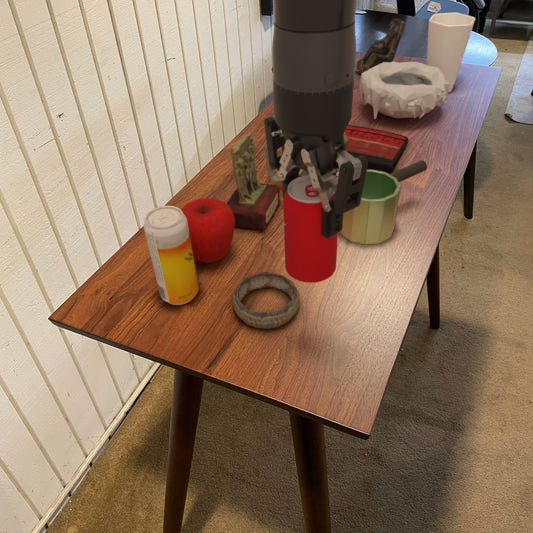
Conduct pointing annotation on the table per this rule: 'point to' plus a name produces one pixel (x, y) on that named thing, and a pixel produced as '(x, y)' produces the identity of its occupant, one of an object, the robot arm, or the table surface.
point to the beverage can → (307, 234)
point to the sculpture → (250, 189)
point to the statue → (383, 47)
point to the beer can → (171, 254)
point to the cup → (448, 43)
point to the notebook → (375, 147)
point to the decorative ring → (265, 318)
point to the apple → (209, 228)
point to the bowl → (403, 89)
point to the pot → (377, 205)
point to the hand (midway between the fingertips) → (310, 219)
